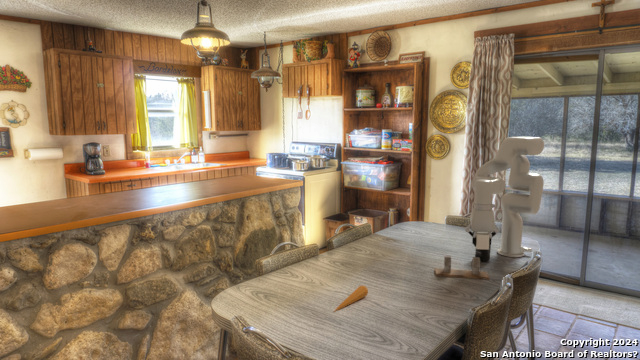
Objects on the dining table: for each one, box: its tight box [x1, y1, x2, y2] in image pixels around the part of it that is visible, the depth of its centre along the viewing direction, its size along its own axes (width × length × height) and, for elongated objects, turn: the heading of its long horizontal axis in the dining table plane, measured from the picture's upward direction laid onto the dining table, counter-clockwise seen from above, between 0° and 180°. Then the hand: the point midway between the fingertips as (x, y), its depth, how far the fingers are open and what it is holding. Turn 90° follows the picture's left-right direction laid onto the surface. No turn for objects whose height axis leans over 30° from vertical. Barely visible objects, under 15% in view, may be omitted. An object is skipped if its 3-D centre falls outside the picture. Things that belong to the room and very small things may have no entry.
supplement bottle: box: [474, 244, 492, 263], centre depth 199 cm, size 7×7×12 cm
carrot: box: [334, 285, 369, 312], centre depth 152 cm, size 20×4×4 cm, turn 140°
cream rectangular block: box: [474, 232, 489, 250], centre depth 185 cm, size 5×5×7 cm
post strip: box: [434, 254, 490, 280], centre depth 180 cm, size 22×7×8 cm, turn 79°
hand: (481, 245), depth 185 cm, fingers closed on cream rectangular block, 5 cm apart
